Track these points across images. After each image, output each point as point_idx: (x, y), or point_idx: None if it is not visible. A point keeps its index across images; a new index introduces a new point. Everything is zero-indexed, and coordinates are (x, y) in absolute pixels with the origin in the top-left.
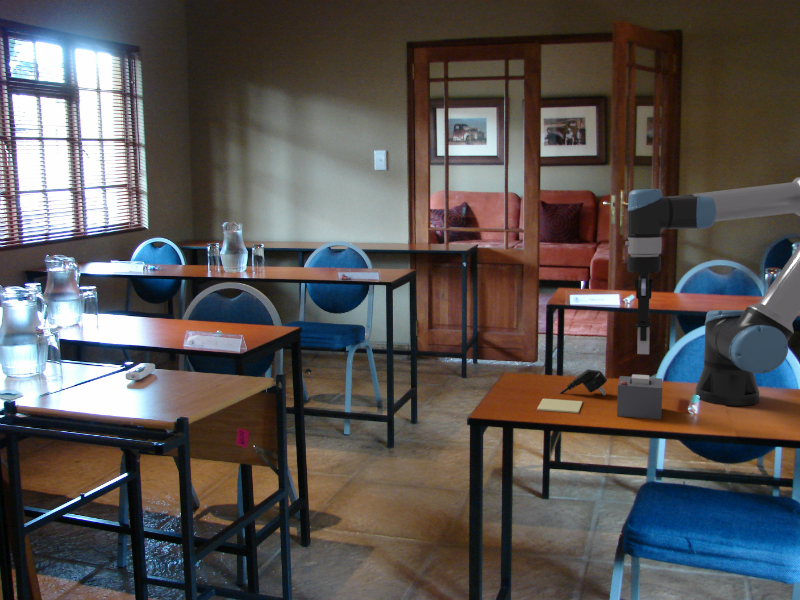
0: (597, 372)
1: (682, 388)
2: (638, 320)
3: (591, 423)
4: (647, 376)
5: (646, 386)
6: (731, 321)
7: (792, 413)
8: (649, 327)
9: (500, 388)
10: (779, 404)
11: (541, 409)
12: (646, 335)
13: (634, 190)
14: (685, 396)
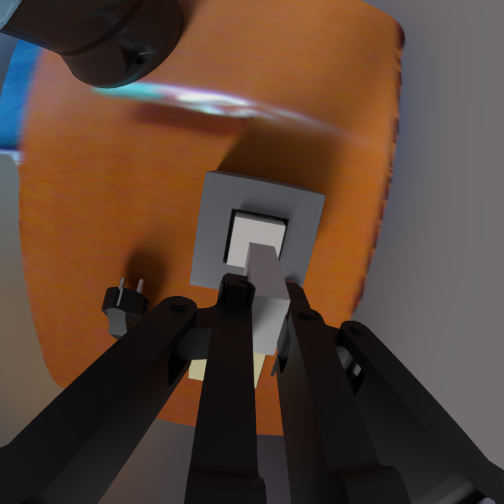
0: (125, 317)
1: (58, 113)
2: (358, 388)
3: (333, 317)
4: (251, 225)
5: (309, 234)
6: None
7: None
8: (257, 292)
9: None
10: None
11: (256, 382)
12: (298, 295)
13: None
14: (112, 107)
